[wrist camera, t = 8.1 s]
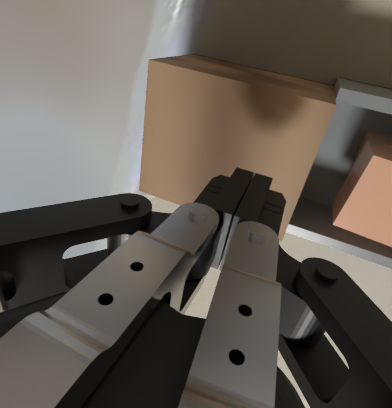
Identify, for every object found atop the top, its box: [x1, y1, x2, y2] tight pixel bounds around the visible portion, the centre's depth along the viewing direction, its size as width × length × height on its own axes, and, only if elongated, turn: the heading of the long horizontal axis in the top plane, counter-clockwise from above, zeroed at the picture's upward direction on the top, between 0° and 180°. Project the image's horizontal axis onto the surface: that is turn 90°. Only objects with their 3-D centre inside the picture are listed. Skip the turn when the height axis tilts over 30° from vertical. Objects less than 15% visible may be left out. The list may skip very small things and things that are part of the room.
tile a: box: [332, 140, 392, 247], centre depth 15 cm, size 4×4×2 cm
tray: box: [286, 77, 392, 269], centre depth 17 cm, size 8×8×4 cm
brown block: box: [139, 54, 336, 241], centre depth 18 cm, size 9×8×6 cm
